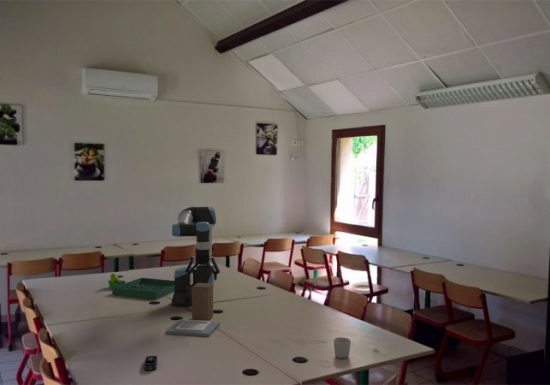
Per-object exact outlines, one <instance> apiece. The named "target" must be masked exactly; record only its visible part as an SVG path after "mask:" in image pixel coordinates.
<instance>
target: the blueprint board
mask: <svg viewBox="0 0 550 385" xmlns="http://www.w3.org/2000/svg"><path fill="white" fill-rule="evenodd" d="M220 326H221V322H220V321H210V320H208V321H200V320H192V319H178V320H177V321H175V322H174V323H173V324H172V325H171V326H170V327H168V328H167V329H166V330H165V334H167V335H178V336H179V335H181V336H183V335H184V336H196V337H211V335H212V334H213V333H214V332H215V331H216V330H217V329H218V328H219V327H220Z"/></svg>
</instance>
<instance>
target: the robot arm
mask: <svg viewBox="0 0 550 385" xmlns="http://www.w3.org/2000/svg"><path fill="white" fill-rule="evenodd" d="M177 220H178V221H177V223H174V224H172V225H171V226H172V227H171V235H172V237H178V238H180V237H181V238H182V237H183V238H184V237H195V238H196V241H195V242H196V243H195V244H196V246H195V248H196V250H195V252H196V253H195V255H196V256H191V257H190V261H189V263H188V266H183V267H179V268H176V269H175V270H174V276H173V279H174V280H173V281H174V292H173V296H172V298H171V305H172V306H174V307H190V306H191V307H192V287H193V286H194V285H196V284H197V283H209V284H213V287H215V286H216V280H217V279H218V274H219V275H220V273H221V271H220V269H219V266H218V264H217V262H216V258H215V257H214V256H213V249H212V248H213V245H212V244H213V242H212V241H213V228H214V227H215V225H216V224H217V216H216V210H215V207H213V206H190V207H186V208H184V209H183V210H181V211H180V212H179V213H178V216H177ZM194 261H196V262H195V263H194ZM193 263H194V265H193ZM192 265H193V266H192Z"/></svg>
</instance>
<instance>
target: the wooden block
mask: <svg viewBox="0 0 550 385" xmlns="http://www.w3.org/2000/svg"><path fill="white" fill-rule="evenodd" d="M213 316H214V286H213V284H209V283H197V284H196V285H194V286H193V287H192V305H191V320H200V321H210V319H212V318H213Z"/></svg>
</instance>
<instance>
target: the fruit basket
mask: <svg viewBox="0 0 550 385" xmlns="http://www.w3.org/2000/svg"><path fill="white" fill-rule="evenodd" d="M109 278H110V280H107V284H108V285H109V288H110V287H111V288H110V289H112V287H114V286H118V285H121V284H124V283H126V280H122V279H119V276H118V275H116V274H115V273H111V274H110V276H109Z"/></svg>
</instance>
